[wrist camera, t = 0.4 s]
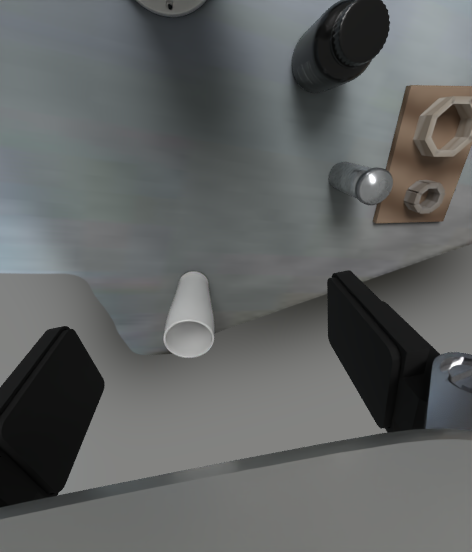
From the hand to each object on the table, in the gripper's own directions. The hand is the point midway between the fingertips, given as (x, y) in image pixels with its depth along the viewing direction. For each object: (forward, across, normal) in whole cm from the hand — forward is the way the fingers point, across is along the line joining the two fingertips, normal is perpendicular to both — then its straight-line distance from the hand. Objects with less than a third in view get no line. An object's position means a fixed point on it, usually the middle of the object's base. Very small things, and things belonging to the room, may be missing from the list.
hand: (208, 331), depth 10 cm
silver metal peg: (+35, -20, +3) cm, 40 cm away
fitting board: (+35, -34, +3) cm, 48 cm away
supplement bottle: (+35, -17, -12) cm, 41 cm away
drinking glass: (+35, +6, +16) cm, 39 cm away
